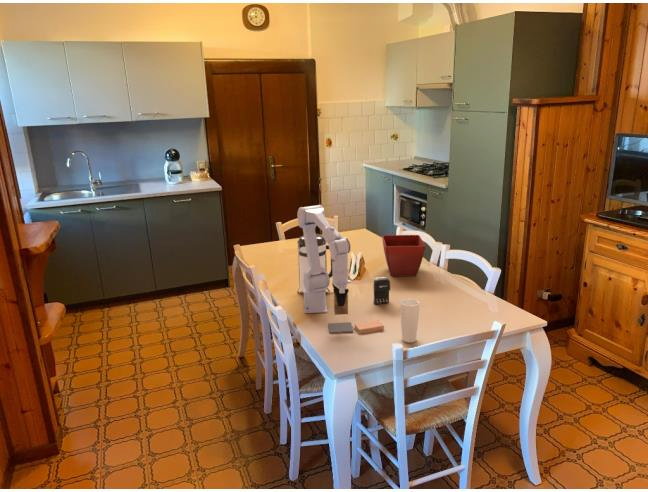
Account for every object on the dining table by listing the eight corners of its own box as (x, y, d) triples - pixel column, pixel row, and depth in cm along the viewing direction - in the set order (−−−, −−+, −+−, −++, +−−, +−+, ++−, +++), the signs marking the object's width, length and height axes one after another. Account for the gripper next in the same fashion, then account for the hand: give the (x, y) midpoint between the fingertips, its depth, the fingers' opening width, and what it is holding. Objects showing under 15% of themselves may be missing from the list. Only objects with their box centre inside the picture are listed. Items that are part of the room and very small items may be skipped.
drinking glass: (416, 335, 185) (417, 298, 181) (420, 343, 179) (421, 305, 175) (398, 335, 185) (398, 298, 181) (401, 344, 179) (402, 306, 174)
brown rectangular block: (334, 314, 188) (334, 295, 186) (334, 310, 192) (333, 291, 189) (347, 314, 189) (347, 294, 186) (346, 310, 192) (346, 291, 190)
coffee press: (328, 300, 218) (327, 235, 210) (293, 298, 222) (290, 233, 213) (335, 286, 235) (334, 224, 226) (302, 284, 238) (300, 223, 229)
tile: (354, 328, 193) (359, 334, 188) (354, 324, 192) (359, 329, 187) (378, 325, 195) (383, 330, 191) (378, 320, 195) (383, 325, 190)
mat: (329, 333, 188) (329, 332, 188) (328, 324, 196) (328, 323, 195) (353, 332, 189) (353, 330, 189) (351, 323, 196) (351, 322, 196)
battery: (375, 305, 212) (375, 280, 209) (372, 302, 216) (372, 277, 212) (390, 304, 213) (391, 279, 210) (388, 300, 217) (388, 276, 213)
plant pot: (424, 278, 241) (425, 245, 236) (385, 279, 242) (385, 246, 237) (418, 265, 260) (419, 234, 255) (381, 266, 260) (381, 235, 255)
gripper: (353, 276, 179) (353, 311, 183) (348, 263, 192) (348, 295, 196) (333, 277, 178) (334, 312, 182) (330, 264, 192) (331, 296, 196)
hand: (340, 303), depth 189 cm, fingers closed on brown rectangular block, 3 cm apart
